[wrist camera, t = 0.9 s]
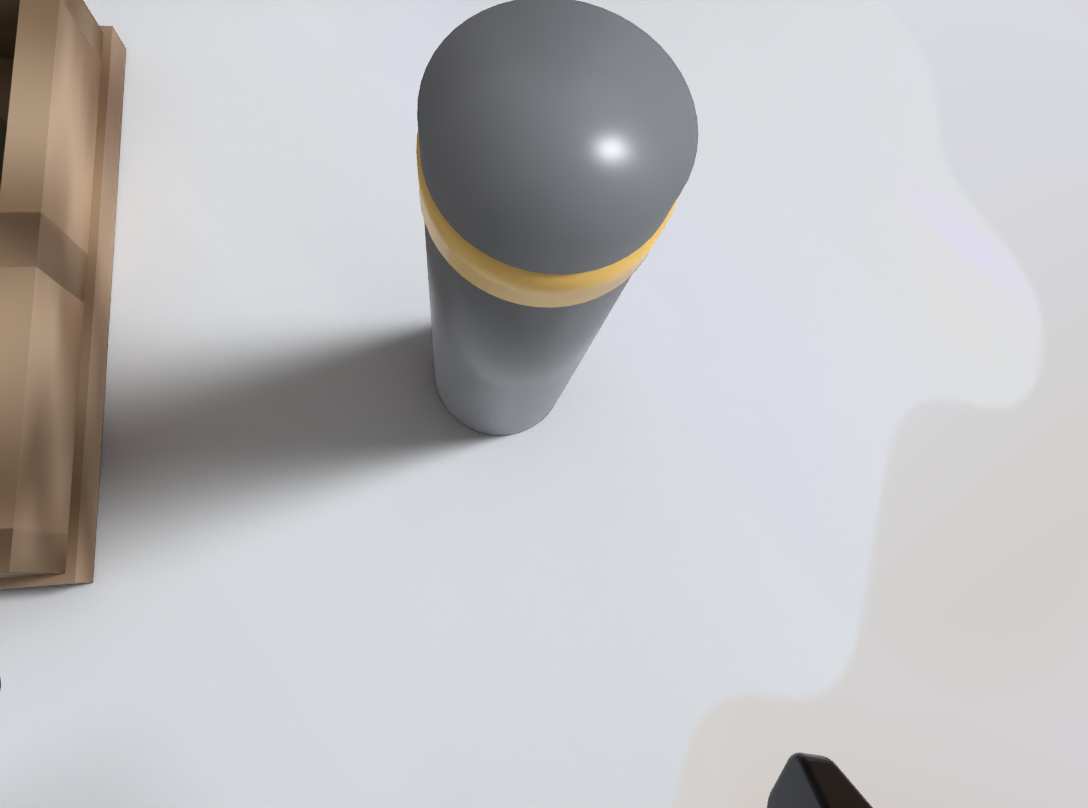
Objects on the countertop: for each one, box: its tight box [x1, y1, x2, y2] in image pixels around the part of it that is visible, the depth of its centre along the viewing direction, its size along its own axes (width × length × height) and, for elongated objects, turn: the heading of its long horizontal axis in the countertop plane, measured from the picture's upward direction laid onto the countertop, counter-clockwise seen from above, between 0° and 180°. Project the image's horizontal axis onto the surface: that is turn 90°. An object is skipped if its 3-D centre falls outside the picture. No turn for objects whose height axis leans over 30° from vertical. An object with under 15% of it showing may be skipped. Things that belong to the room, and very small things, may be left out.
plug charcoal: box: [416, 0, 698, 435], centre depth 17 cm, size 4×4×13 cm
